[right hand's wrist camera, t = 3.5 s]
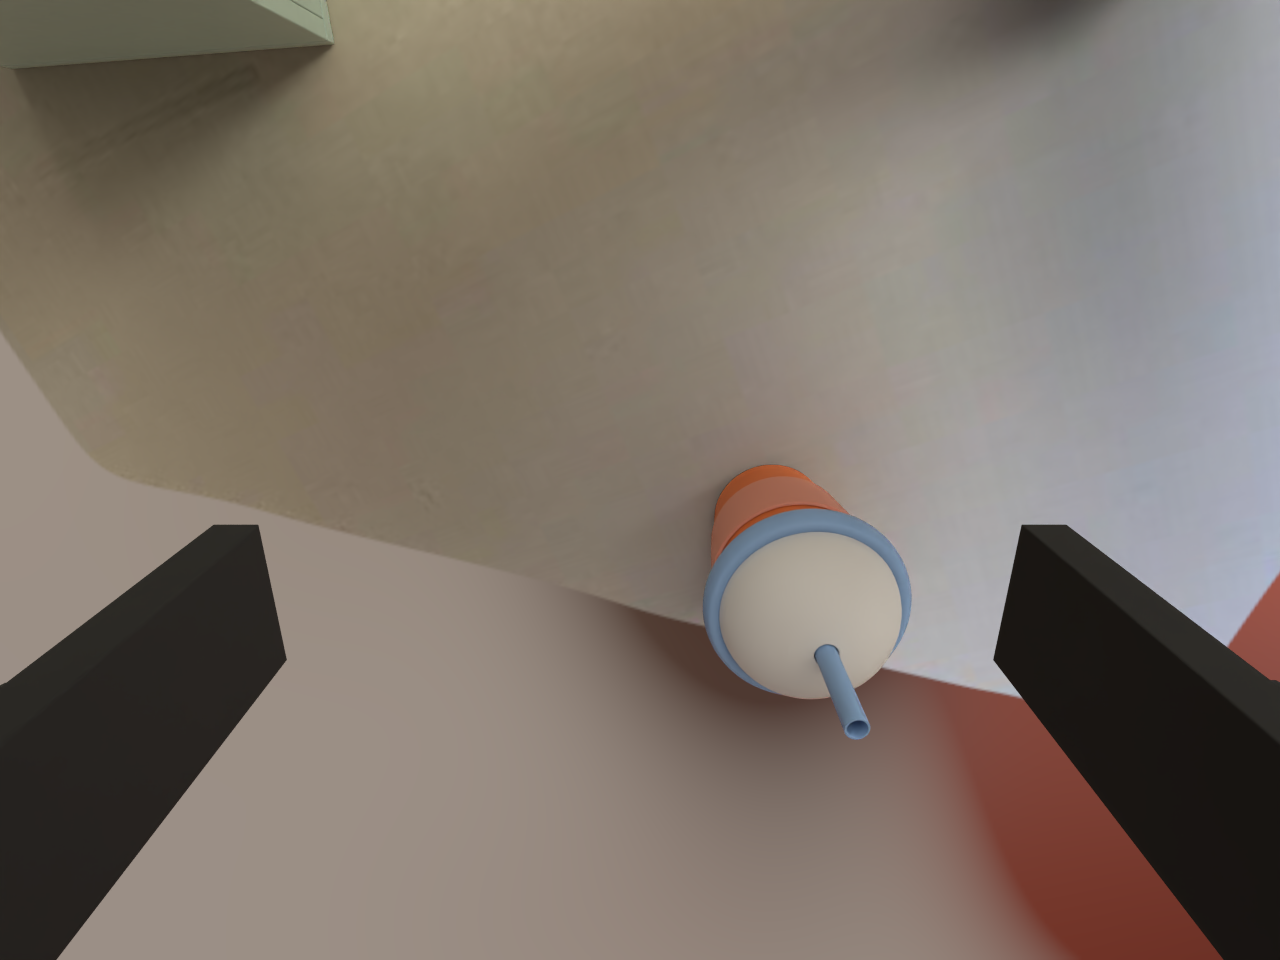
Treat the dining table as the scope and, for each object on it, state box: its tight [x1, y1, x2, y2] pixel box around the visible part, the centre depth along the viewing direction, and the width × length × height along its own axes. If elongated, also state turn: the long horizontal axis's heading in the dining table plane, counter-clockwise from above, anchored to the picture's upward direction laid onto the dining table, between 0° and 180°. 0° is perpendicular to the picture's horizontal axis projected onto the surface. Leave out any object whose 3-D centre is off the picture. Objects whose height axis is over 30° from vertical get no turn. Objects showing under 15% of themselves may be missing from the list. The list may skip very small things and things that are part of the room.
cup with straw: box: [703, 465, 911, 740], centre depth 33 cm, size 9×9×18 cm
